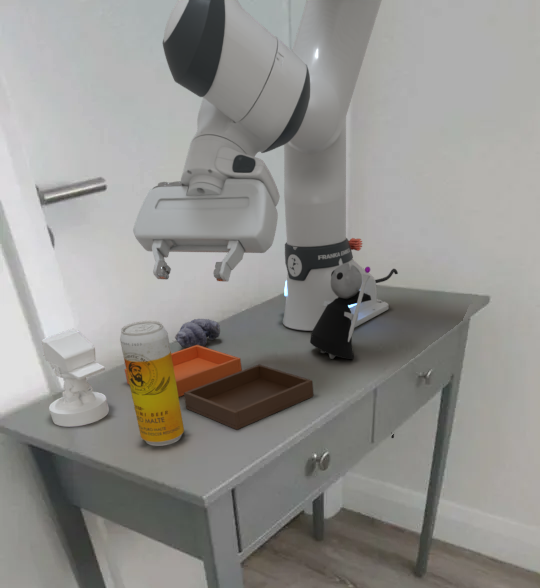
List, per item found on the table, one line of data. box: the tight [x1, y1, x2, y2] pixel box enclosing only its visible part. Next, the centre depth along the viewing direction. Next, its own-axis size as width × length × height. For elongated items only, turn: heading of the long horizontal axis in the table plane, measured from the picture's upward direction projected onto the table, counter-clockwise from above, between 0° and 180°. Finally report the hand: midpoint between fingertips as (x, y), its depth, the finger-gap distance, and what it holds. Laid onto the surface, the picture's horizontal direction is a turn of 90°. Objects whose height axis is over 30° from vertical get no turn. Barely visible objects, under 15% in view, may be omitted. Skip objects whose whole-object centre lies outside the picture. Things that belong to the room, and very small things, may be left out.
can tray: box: [124, 345, 243, 398], centre depth 108 cm, size 15×12×2 cm
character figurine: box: [41, 328, 110, 428], centre depth 95 cm, size 9×10×12 cm
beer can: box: [119, 320, 185, 447], centre depth 86 cm, size 6×6×15 cm
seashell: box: [174, 318, 221, 348], centre depth 120 cm, size 5×5×10 cm
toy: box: [309, 258, 371, 360], centre depth 108 cm, size 12×7×15 cm, turn 22°
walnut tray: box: [183, 363, 314, 430], centre depth 97 cm, size 15×12×2 cm
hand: (189, 278), depth 86 cm, fingers open, 8 cm apart
